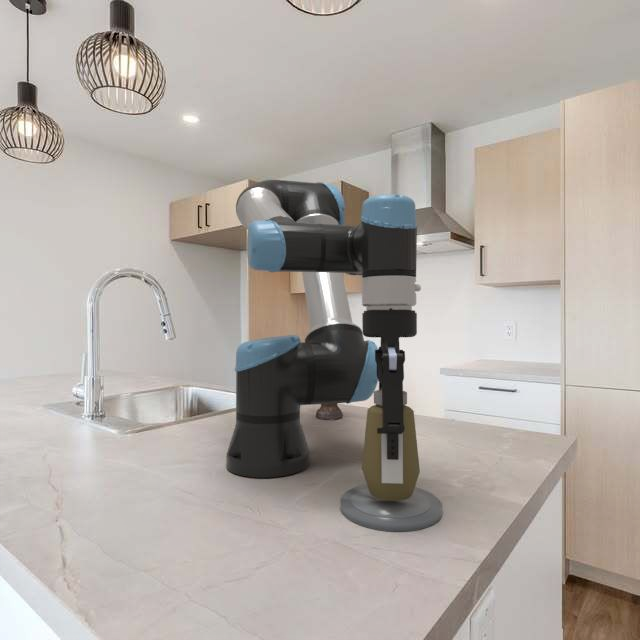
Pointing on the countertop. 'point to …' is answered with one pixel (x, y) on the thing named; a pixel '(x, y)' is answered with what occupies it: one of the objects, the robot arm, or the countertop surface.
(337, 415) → the mortar and pestle
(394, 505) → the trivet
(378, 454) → the squeeze bottle
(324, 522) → the countertop surface
